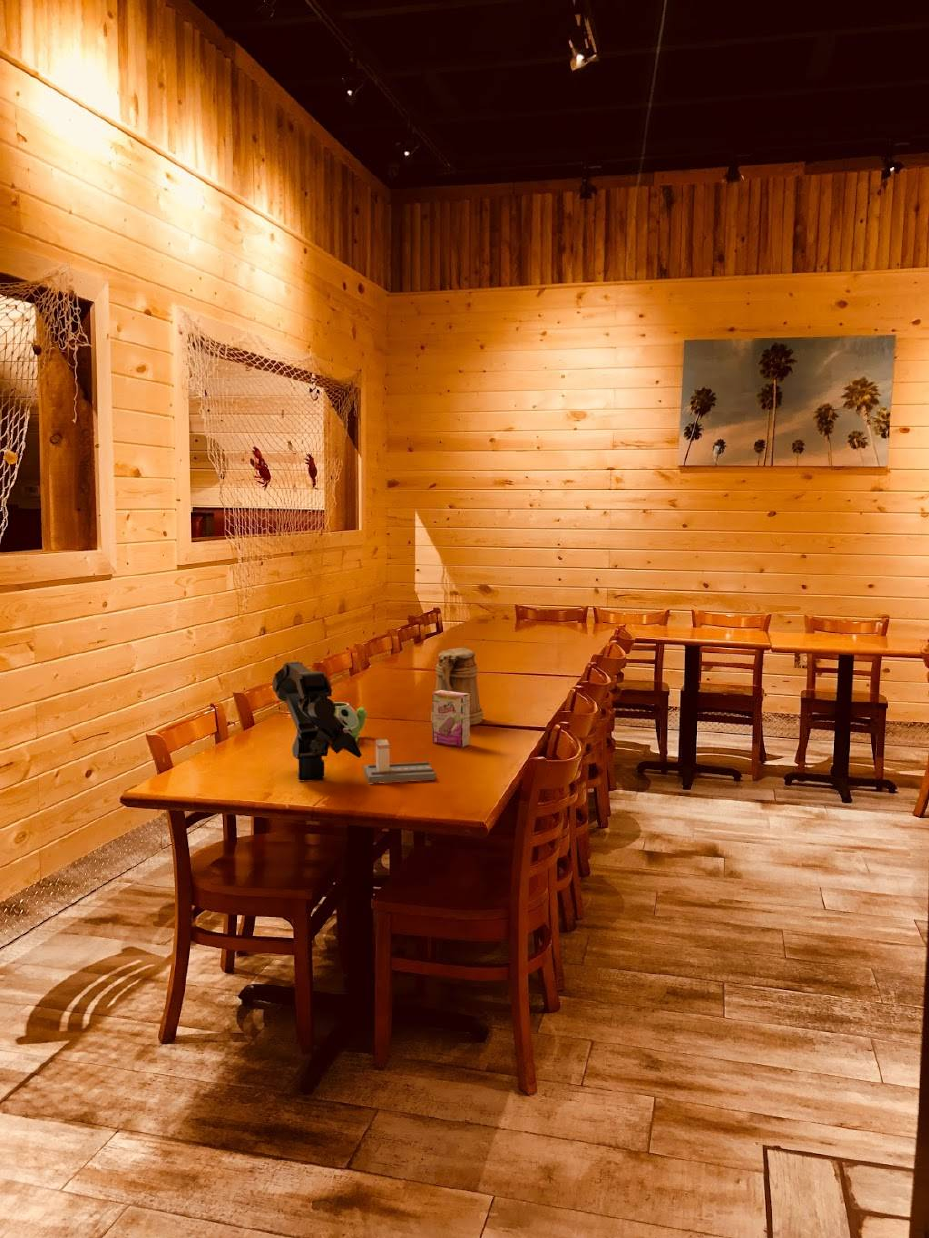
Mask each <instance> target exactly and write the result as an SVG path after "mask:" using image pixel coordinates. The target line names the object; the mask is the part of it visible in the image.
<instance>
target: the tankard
mask: <svg viewBox="0 0 929 1238" xmlns="http://www.w3.org/2000/svg"><path fill="white" fill-rule="evenodd" d="M475 656H476V653H475V652H474V651H473V650H471V649H468V648H466V647H456V648H450V649H449V648H448V649H446V650H442V651H441V652H440V653H439V654H438V655H437V658H438V662H437V664H436V668H435V673H436V683H435V684H436V685H435V691H434V692H436V691H439V690H445V691H452V692H460V693H468V694H470V727H472V726H476V725H478V724H481V723H482V722H483V717H484V713H483V708H481V703H480V696H479V688H478V678H477V675H478V672H479V671H478V665H477V663H476V662H475V661H476V660H475ZM430 713H431V715H430V722H431V723H433V708H432V709H431V711H430Z"/></svg>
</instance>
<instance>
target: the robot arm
mask: <svg viewBox="0 0 929 1238" xmlns="http://www.w3.org/2000/svg"><path fill="white" fill-rule="evenodd" d="M303 664H304V663H303V662H300V661H289V662H286V663H284V664H283V666H282V668H281V669H279V670H278V671H277V672H276V673H274V677H273V680H272V691H273V693H274V694H275V695H276V698H277V700H280V701H282V702H283V703H286V706H287V709H288V712H289V713H290V716H291V718H292V721H293V723H294V725H295V728H296V736H295V739H294V742H293V744H292V749H291V751H292V756H293V757H294V758H295V759H296V760H297V761H298V763H297V764H298V773H297V777H298V781H299V780H316V781H323V780H324V777H325V761H324V759H323V757H328V753H329V745H330V744H331V745H330V748H331V749H332V751H333V752H334V753H335V754H339V753H340V752H341V751H343V750H345V751H347V752H348V753H350V754H352V755H353V756H355V757H356V758H358V759H360V758H361V757H362V756H363V754H362V752H361V750H360V748H359V745H358V742H356V740H355V738H354V736H353V733H352V731H351V729H350V728H349V729H348V730H346V729H345V730H344V728H345V725H346V726H347V725H348V723H347V722H346V721H345V720H344V719H343V718H337V717H336V715H335V714H334V713H335V705H334V703H335V702H333V700H332V699H330V698H328V697H332V695H333V693H332V691H333V690H332V686H331V683H330V682H329V679H328V677H327V676H326V675H325V673H324V672H323V671H311V670H310V669H309V668H307V667H306V666H304V665H303ZM332 739H333V740H332Z"/></svg>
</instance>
